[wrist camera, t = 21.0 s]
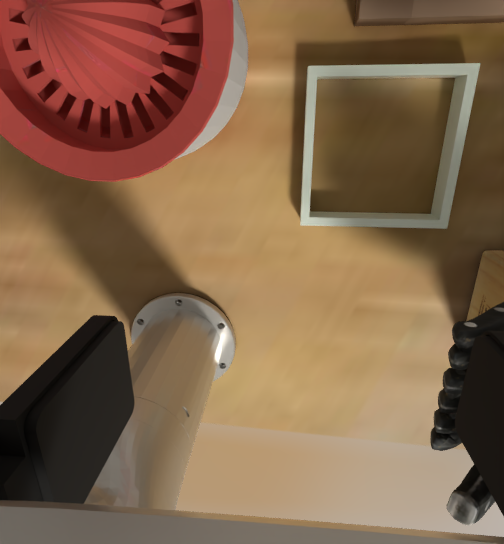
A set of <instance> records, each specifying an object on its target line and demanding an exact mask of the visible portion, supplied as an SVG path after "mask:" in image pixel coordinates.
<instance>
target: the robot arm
mask: <svg viewBox="0 0 504 544" xmlns="http://www.w3.org/2000/svg"><path fill="white" fill-rule="evenodd" d="M180 300H181V301H180ZM222 323H223V324H222ZM131 340H132V346H131V347H130V349H129V350H128V351H127V344H126V337H125V330H124V325H123V323H122V322H120V321H118V320H117V318H116V317H115V316H98V315H94V316H92V317H91V318H90V319H89V320H88V321H87V322H86V323H85V324H84V325H83V326H82V327H81V328H79V329H78V330H77V331H76V332H75V333H74V334H73V335H72V336H71V337H70V338H69V339H68V340H67V341H66V342H65V343H64V344H63V345H62V346H61V347H60V348H59V349H58V350H57V351H56V352H55V353H54V354H53V355H52V356H51V357H50V358H49V359H48V360H46V361H45V362H44V363H43V364H42V365H41V366H40V367H39V368H38V369H37V370H36V371H35V372H34V373H33V374H32V375H31V376H30V377H29V378H28V379H27V380H26V381H25V382H24V383H23V384H22V385H21V386H20V387H19V388H18V389H17V390H16V391H15V392H13V393H12V394H11V395H10V396H9V397H8V398H7V399H6V400H5V401H4V402H3V403H2V404H1V405H0V544H504V537H496V536H484V535H472V534H461V533H449V532H437V531H426V530H415V529H402V528H392V527H380V526H367V525H354V524H343V523H330V522H318V521H306V520H293V519H281V518H267V517H255V516H243V515H229V514H216V513H203V512H189V511H176V510H175V508H176V504H177V500H178V496H179V493H180V489H181V485H182V482H183V478H184V475H185V472H186V468H187V465H188V461H189V458H190V455H191V452H192V448H193V445H194V442H195V438H196V435H197V432H198V429H199V425H200V422H201V419H202V415H203V412H204V409H205V405H206V402H207V399H208V396H209V392H210V389H211V386H212V382H213V381H215V380H217V379H218V378H220V377H221V376H222V375H223V374H224V373H225V372H226V371H227V370H228V368H229V367H230V365H231V363H232V360H233V357H234V354H235V349H236V338H235V334H234V330H233V328H232V326H231V324H230V321H229V320H228V319H227V317H226V316H225V315H224V313H223V312H222V311H221V310H219V309H218V308H217V307H216V306H215V305H213V304H212V303H210V302H209V301H207V300H205V299H203V298H200V297H198V296H194V295H191V294H184V293H172V294H166V295H162V296H159V297H157V298H155V299H153V300H151V301H150V302H148V303H147V304H146V305H145V306H144V307H143V308H142V309H141V310H140V312H139V313H138V314H137V316H136V318H135V319H134V322H133V325H132V329H131ZM455 428H456V431H457V434H458V436H459V437H460V439H461V441H462V443H463V445H464V446H465V448H466V450H467V452H468V453H469V455H470V457H471V459H472V461H473V462H474V464H475V466H476V468H477V469H478V471H479V473H480V475H481V477H482V478H483V480H484V482H485V484H486V486H487V487H488V489H489V491H490V493H491V494H492V496H493V498H494V500H495V502H496V503H497V505H498V507H499V509H500V510H501V512H502V514H503V516H504V331H484V332H483V333H482V335H481V336H477V337H476V338H475V340H474V343H473V347H472V351H471V355H470V359H469V363H468V368H467V372H466V376H465V380H464V384H463V388H462V392H461V396H460V401H459V405H458V409H457V413H456V417H455Z"/></svg>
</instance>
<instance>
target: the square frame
mask: <svg viewBox="0 0 504 544" xmlns="http://www.w3.org/2000/svg"><path fill="white" fill-rule="evenodd" d="M501 22H504V0H356V11H355V22H354V26H382V25H421V24H461V23H501Z"/></svg>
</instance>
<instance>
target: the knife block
mask: <svg viewBox="0 0 504 544" xmlns="http://www.w3.org/2000/svg"><path fill="white" fill-rule="evenodd" d="M484 331H504V251H501V250H488V251H484V252H483V254H482V258H481V262H480V266H479V270H478V274H477V279H476V283H475V287H474V291H473V295H472V299H471V303H470V308H469V312H468V316H467V320H466V321H465V322H457V323H456V324H455V325H454V326H453V328H452V334H453V340H454V342H455V344H454V345H453V346H452V347H451V348H450V350H449V352H448V357H449V362H450V365H451V367H452V368H449V369H448V370H446V371H445V372H444V375H443V387H444V389H442V390H441V391H440V392H439V396H438V405H439V409H438V410H436V411H435V412H434V426H435V427H434V428H433V429H432V431H431V446H432V449H434V450H440V451H443V450H448V449H451V448H454V447H456V446H458V445H459V444H461V443H462V441H461V439H460V437H459V436H458V434H457V431H456V428H455V417H456V413H457V409H458V405H459V401H460V396H461V392H462V388H463V384H464V380H465V376H466V372H467V368H468V363H469V359H470V355H471V351H472V347H473V343H474V340H475V338H476V337H477V336H481V335H482V333H483V332H484ZM494 502H495V500H494V498H493V496H492V494H491V493H490V491H489V489H488V487H487V486H486V484H485V482H484V480H483V478H482V477H481V475H480V473H479V471H478V469H477V468H476V466H475V464H474V466H473V467H472V468H471V469H470V471H469V472H468V474H467V475H466V477H465V478H464V480H463V481H462V483H461V484H460V485H459V486H458V487H457V488H456V490H454V491H453V492H452V494H451V496H450V499H449V501H448V504H447V510H448V512H449V513H450V514H451V515H452V517H453V518H454V519H455V520H457V521H459V522H460V523H463V524H465V525H471V524H474V523H476V522H477V521H479V520H480V518H482V517H483V515H484V514H485V513H486V512H487V510H488V509H489V508H490V507H491V506H492V505H493V503H494Z"/></svg>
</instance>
